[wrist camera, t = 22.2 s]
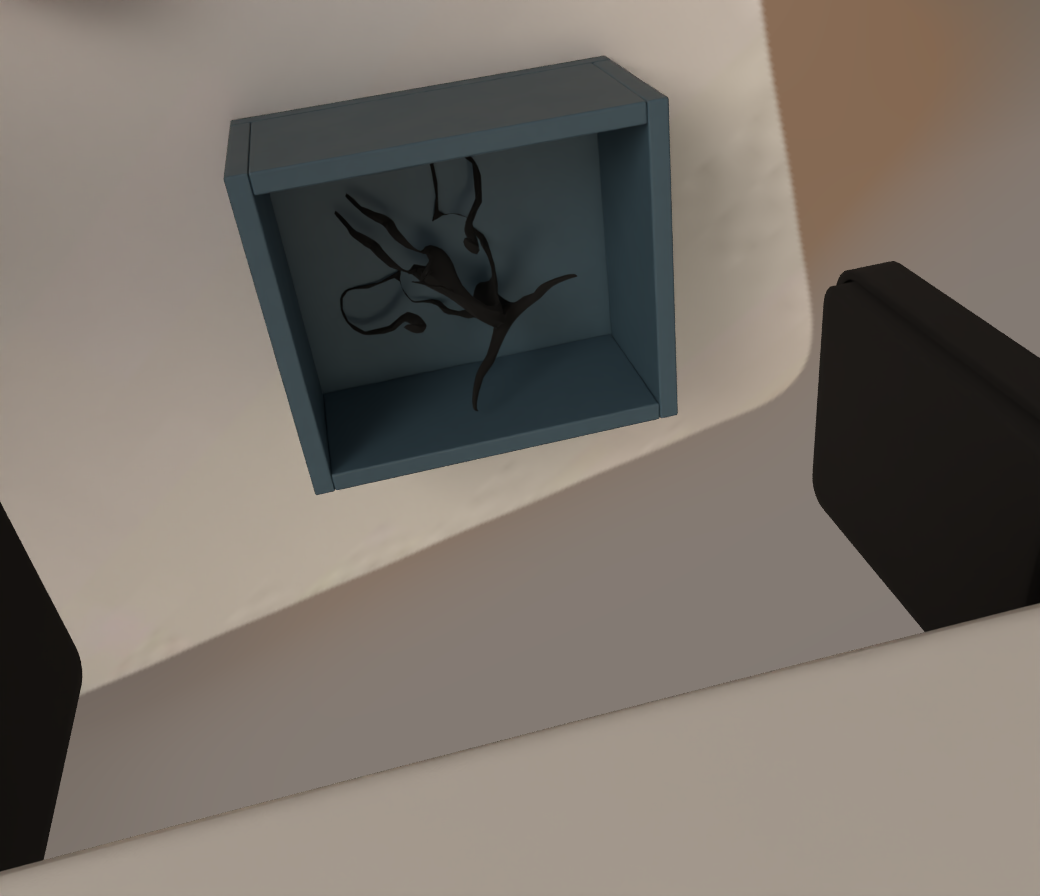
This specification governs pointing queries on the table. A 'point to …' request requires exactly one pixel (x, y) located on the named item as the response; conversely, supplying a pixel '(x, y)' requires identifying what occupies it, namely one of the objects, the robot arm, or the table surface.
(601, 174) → the teal open box
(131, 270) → the table surface
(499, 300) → the creature
